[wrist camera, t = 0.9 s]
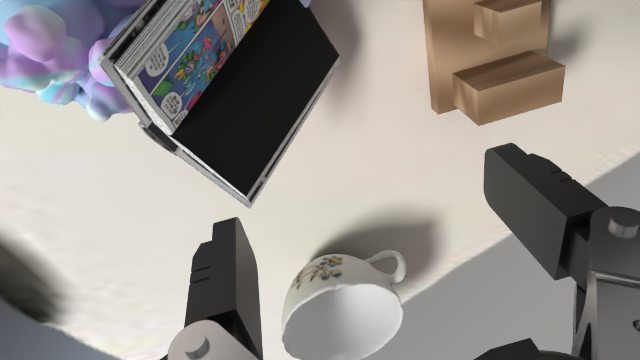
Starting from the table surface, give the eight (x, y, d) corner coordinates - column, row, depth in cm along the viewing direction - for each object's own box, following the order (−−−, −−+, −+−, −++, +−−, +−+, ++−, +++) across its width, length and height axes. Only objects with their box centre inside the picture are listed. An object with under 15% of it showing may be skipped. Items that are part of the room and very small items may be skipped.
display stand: (416, -77, 30) (452, -77, 25) (546, -115, 30) (609, -122, 25) (431, 108, 38) (461, 136, 33) (533, 78, 38) (578, 101, 33)
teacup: (321, 322, 52) (333, 381, 45) (251, 276, 45) (254, 337, 39) (417, 256, 48) (446, 309, 42) (356, 195, 42) (379, 247, 35)
